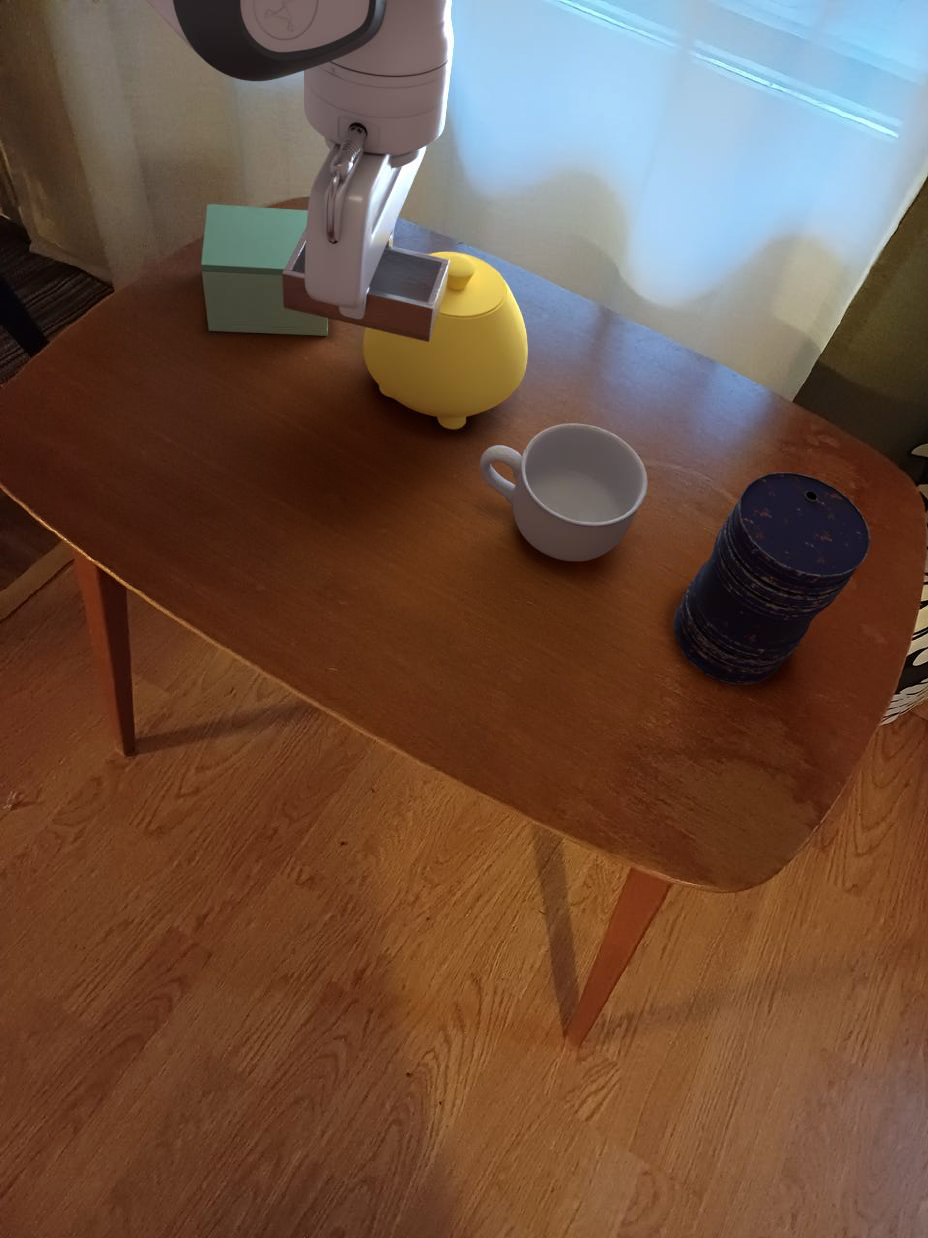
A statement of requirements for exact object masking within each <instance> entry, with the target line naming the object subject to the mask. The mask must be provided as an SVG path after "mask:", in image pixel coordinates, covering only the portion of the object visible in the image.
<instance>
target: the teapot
mask: <svg viewBox="0 0 928 1238" xmlns="http://www.w3.org/2000/svg"><path fill="white" fill-rule="evenodd" d="M426 255H431V256H435V257H439V258H443V259H448V260H450V262H449V270H448V278H447V285H446V293H445V296H444V299H443V302H442V305H441V308H440V311H439V314H438V317H437V320H436V323H435V325H434V328H433V331H432V334H431V337H430V340H429V342H427V341H422V340H418V339H414V338H410V337H405V336H401V335H397V334H393V333H389V332H384V331H380V330H376V329H372V328H367V327H365V329H364V334H363V340H362V342H363V343H362V355H363V359H364V362H365V366H366V368H367V370H368V372H369V374H370V376H371V377H372V378H373V380H374V381H375V383H377V385H378V386H379V391H380V393H381V394H382V395H384V396H386V397H389V398H392V399H394V400H395V401H397V402H398V403H400V404H401V405H403V406H405V407H406V408H408V409H410V410H413V411H415V412H418V413H420V414H423V415H427V416H432V417H435V418H437V421H438V423H439V425H441V426H442V427H443V428H446V429H448V430H458V429H461V428H463V426H465V424H466V423H467V417H471V416H473V415H477V414H481V413H483V412H486V411H488V410H491V409H493V408H494V407H496V406H498V405H500V404H502V403H503V402H505V401H506V400H508V398H509V397H510V396H512V395H513V394H514V392H515V391H516V390H517V389H518V388H519V387H520V385H521V384H522V381H523V379H524V377H525V374H526V370H527V365H528V356H529V355H528V353H529V352H528V351H529V346H528V335H527V328H526V325H525V321H524V317H523V314H522V311H521V309H520V307H519V304H518V302H517V300H516V298H515V296H514V293H513V292H512V290H511V289H510V286H509V285H508V283H507V282H506V279H505V278H504V277H503V275H502V274H501V273H500V272H499V271H498V270H497V269H496V268H495V267H494V266H492V265H491V264H489V262H486V261H485V260H483V259H480V258H478V257H476V256H473V255H472V254H471V255H470V254H468V253H463V252H457V251H437V252H431V253H426Z"/></svg>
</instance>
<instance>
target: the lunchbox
mask: <svg viewBox="0 0 928 1238" xmlns="http://www.w3.org/2000/svg"><path fill="white" fill-rule="evenodd" d="M201 276H202V284H203V285H202V286H203V294H204V301H205V302H204V303H205V310H206V318H207V319H206V320H207V327H208V331H209V332H226V333H227V332H228V333H252V334H274V335H275V334H276V335H299V336H318V337H319V336H321V337H322V336H323V337H325V336H326V337H327V336H328V335H329V334H328V333H329V318H325V317H321V316H316V315H312V314H308V313H304V312H299V311H295V310H291V309H287V308H284V304H283V278H282V275H270V274H252V273H234V272H217V271H202V270H201Z"/></svg>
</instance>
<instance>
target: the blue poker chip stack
mask: <svg viewBox="0 0 928 1238" xmlns="http://www.w3.org/2000/svg"><path fill="white" fill-rule="evenodd" d="M870 547H871V533H870V529H869V526H868V523H867V521H866V519H865V517H864V515H863V514H862V513H861V511H860V509H859V508H858V506H857V505H856V504H854V502H853V501H852V500H851V499H849V497H848V496H846V495H845V494H844V493H843V492H841V491H840V490H838V489H837V488H836V487H834V486H833V485H831V484H829V483H827V482H825V481H823V480H820V479H819V478H816V477H813V476H810V475H807V474H802V473H799V472H789V471H785V472H784V471H782V472H771V473H767V474H763V475H761V476H758V477H756V478H755V479H754V480H752V481H751V482H750V483H749V484H747V486H746V487H745V488H744V490H743V491H742V493H741V495H740V497H739V498H738V501H737V502H736V504H735V506H734V507H733V508H732V509H731V511H730V512H729V513H728V515H727V517H726V519H725V521H724V523H723V525H722V527H721V529H720V530H719V531H718V533H717V535H716V537H715V542H714V544H713V550H712V552H711V554H710V556H709V558H708V560H707V561H705V562H704V563H703V564H702V566H701V567H700V568H699V569H698V571H697V573H696V575H695V576H694V577H693V579H692V580H691V581H690V583H689V585H688V587H686V591H685V593H684V594H683V598H682V601H681V602H680V603H679V605H678V606H677V609H676V611H675V613H674V617H673V634H674V638H675V641H676V644H677V645H678V648H679V650H680V651H681V653H682V654H683V655H684V657H685V658H686V659H687V660H688V661H689V663H690V664H692V665H693V666H694V667H695V668H696V669H698V671H700V672H702V673H703V674H704V675H706V676H707V677H710V678H712V679H714V680H717V681H719V682H722V683H725V684H726V683H727V684H730V685H731V684H732V685H738V686H743V685H744V686H745V685H753V684H758V683H760V682H763V681H765V680H767V679H768V678H770V677H771V676H773V674H775V673H776V672H777V671H778V670H779V668H780V667H781V665H782V663H784V662H785V661H786V660H787V659H789V657H790V656H791V655H792V654H793V653H794V651H795V650H796V649H797V647H798V646H799V645H800V643H801V641H802V639H803V638H804V637H805V636H806V634H807V632H808V630H809V628H810V626H811V623H812V621H813V620H814V619H815V618H816V616H817V615H818V614H820V613H821V612H823V611H825V609H826V608H828V607H829V606H831V604H832V603H833V602H834V601H835V599H836V598H837V596H838V595H839V594H840V593H841V592H842V591H843V589H844V588H845V587H846V586H847V584H848V583H849V581H850V580H851V578H852V576H853V575H854V573H855V571H856V570H857V569H858V568H859V567H860V566H861V565H862V564H863V562H864V561H865V560H866V557H867V556H868V553H869V551H870Z"/></svg>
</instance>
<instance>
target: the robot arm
mask: <svg viewBox="0 0 928 1238" xmlns="http://www.w3.org/2000/svg"><path fill="white" fill-rule="evenodd" d="M145 1H146V2H147V3H148V4H149V5H150V6H151V8H153V10H154V11H155V12H156V13H157V14H158V15H159V16H160V17H161V18H162V19H163V20H164V21H165V23H167V25H168V26H169V27H170V28H171V29H172V30H173V32H175V33H176V34H177V35H178V36H179V38H180V39H181V40H182V41H184V42H185V44H186V45H187V46H188V47H189V48H190V49H191V50H192V51H193V52H194V53H195V54H197V55H198V56H199V58H201V59H202V60H203V61H204V62H205V63H206V64H207V65H209V66H210V67H212V68H213V69H215V70H217V71H218V72H220V73H222V74H224V75H226V76H227V77H230V78H234V79H237V80H241V81H245V82H246V81H247V82H269V81H274V80H277V79H281V78H285V77H289V76H291V75H295V74H298V73H301V72H303V92H304V93H303V100H304V101H303V102H304V105H303V107H304V115H305V117H306V119H307V121H308V123H309V125H310V126H311V127H312V128H313V129H314V130H315V132H317V133H318V134H319V135H320V136H322V137H323V138H324V142H325V144H326V146H327V148H328V149H329V151H328V154H327V155H326V157H325V159H324V160H323V163H322V165H321V166H320V168H319V170H318V172H317V174H316V176H315V178H314V180H313V182H312V186H311V189H310V194H309V197H308V198H309V199H308V205H307V211H308V213H307V226H306V249H305V288H306V291H307V293H308V294H309V296H310V297H311V298H312V299H314V300H317V301H320V302H324V303H328V304H331V305H336V306H339V311H340V313H341V314H342V315H343V316H346V317H350V318H354V319H362V318H363V316H364V314H365V312H366V309H367V307H368V298H369V285H370V282H371V280H372V277H373V275H374V273H375V270H376V268H377V266H378V263H379V261H380V258H381V256H382V254H383V251H384V249H385V247H386V245H388V246H392V247H394V237H395V236H394V234H395V227H396V223H397V220H398V218H399V215H400V213H401V210H402V209H403V206H404V204H405V201H406V200H407V197H408V195H409V192H410V189H411V187H412V184H413V183H414V180H415V178H416V176H417V173H418V172H419V171H418V170H419V168H420V167H421V164H422V161H423V158H424V157H425V153H426V149H427V147H429V146H430V145H432V144H433V143H434V142H435V141H436V140H438V138H439V137H441V135H442V133H443V132H444V130H445V129H444V128H445V123H446V114H447V105H448V103H447V102H448V97H449V96H448V94H449V89H450V79H451V71H452V63H453V52H454V30H453V26H452V25H453V24H452V19H451V9H452V1H453V0H145Z"/></svg>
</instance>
